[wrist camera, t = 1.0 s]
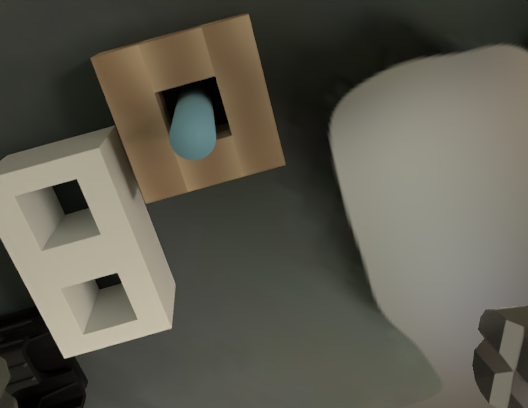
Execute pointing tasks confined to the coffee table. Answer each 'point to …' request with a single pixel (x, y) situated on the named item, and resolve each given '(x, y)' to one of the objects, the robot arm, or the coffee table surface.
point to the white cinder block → (85, 243)
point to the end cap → (38, 364)
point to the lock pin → (193, 124)
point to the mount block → (180, 73)
